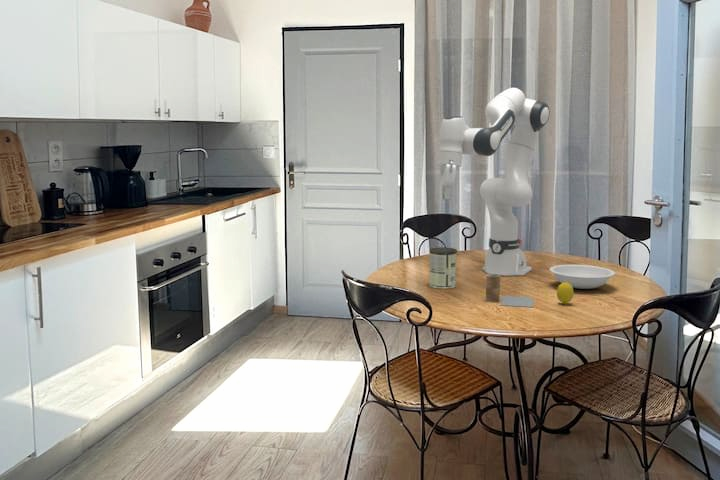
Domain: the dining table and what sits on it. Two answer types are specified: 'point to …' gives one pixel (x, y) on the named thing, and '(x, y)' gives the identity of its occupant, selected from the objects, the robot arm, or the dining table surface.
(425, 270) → the dining table surface
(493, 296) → the walnut block
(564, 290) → the lemon
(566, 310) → the dining table surface
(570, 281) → the soup bowl
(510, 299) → the grey mat
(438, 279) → the coffee can
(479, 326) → the dining table surface
